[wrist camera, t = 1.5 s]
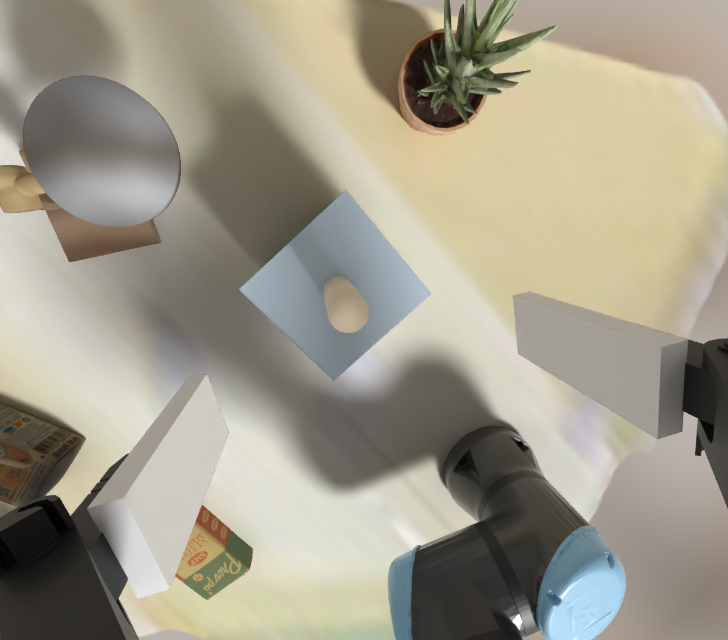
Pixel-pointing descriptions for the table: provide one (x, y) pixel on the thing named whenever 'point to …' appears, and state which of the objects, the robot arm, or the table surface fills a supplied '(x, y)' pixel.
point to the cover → (336, 287)
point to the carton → (213, 556)
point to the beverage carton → (32, 455)
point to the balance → (94, 166)
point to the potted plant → (459, 68)
